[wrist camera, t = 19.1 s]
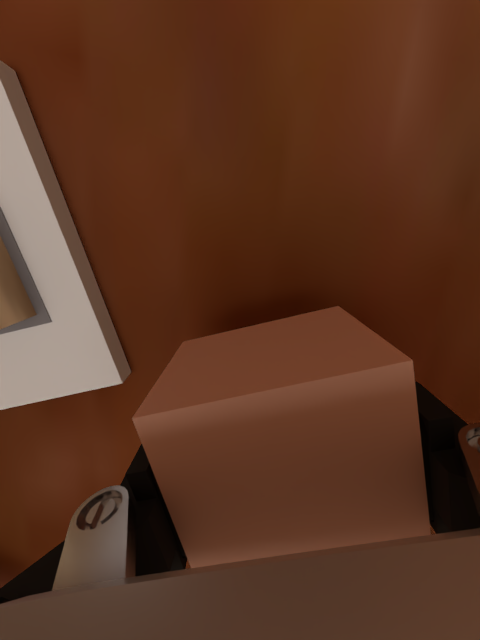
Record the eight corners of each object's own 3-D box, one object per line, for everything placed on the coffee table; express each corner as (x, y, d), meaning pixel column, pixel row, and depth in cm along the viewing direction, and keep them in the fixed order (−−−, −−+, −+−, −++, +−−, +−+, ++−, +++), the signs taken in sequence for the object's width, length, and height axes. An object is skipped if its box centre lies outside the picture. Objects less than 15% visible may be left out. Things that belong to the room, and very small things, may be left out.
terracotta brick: (338, 305, 11) (412, 360, 6) (360, 441, 12) (435, 575, 7) (183, 341, 11) (131, 418, 6) (223, 466, 13) (206, 606, 8)
